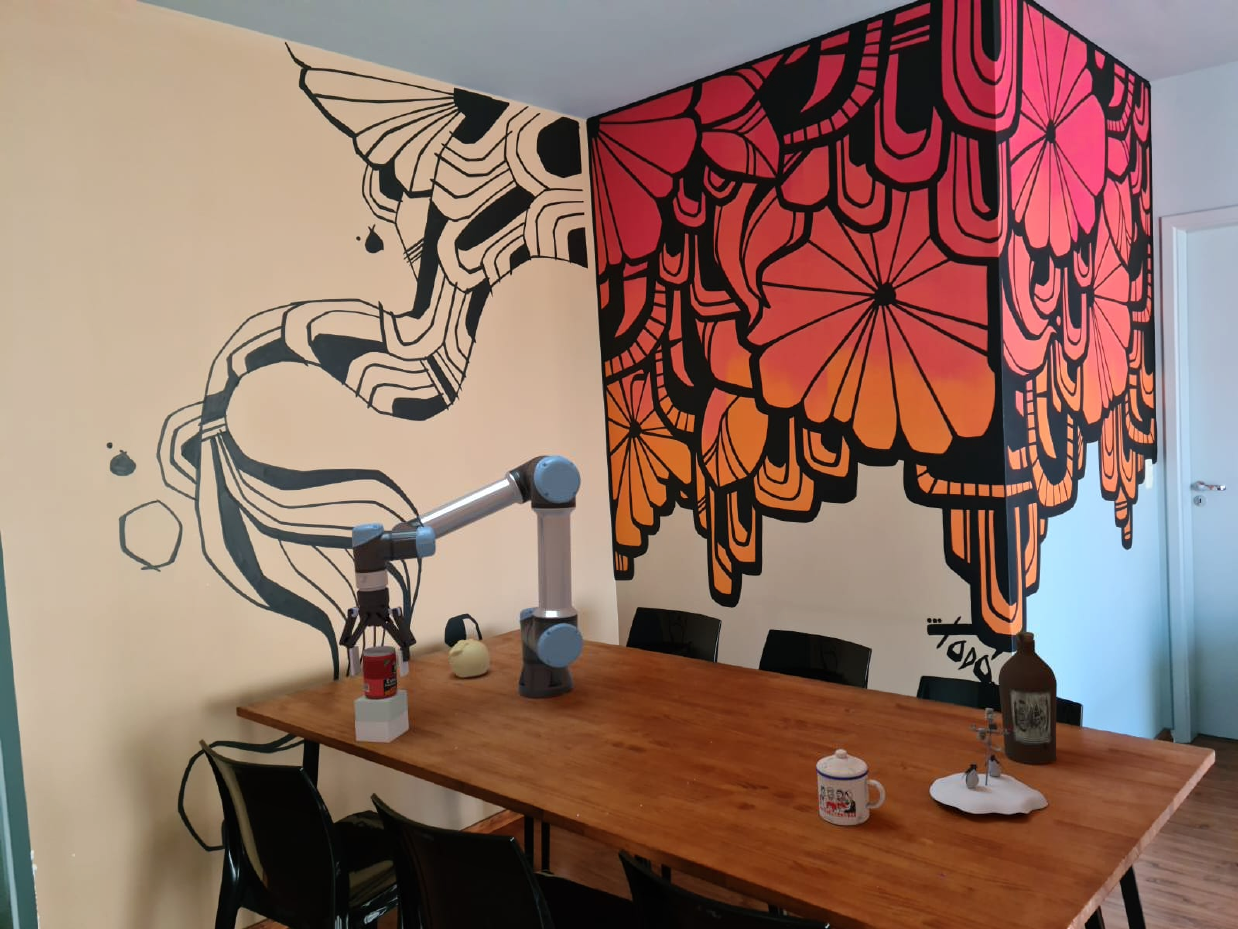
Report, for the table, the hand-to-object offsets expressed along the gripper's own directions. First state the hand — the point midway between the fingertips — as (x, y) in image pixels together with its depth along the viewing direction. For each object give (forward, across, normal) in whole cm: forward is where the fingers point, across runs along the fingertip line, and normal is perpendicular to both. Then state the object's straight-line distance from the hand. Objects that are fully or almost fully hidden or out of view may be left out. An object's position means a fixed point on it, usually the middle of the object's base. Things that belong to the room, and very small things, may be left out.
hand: (380, 674), depth 212 cm
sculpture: (+15, -2, +49) cm, 51 cm away
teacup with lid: (+16, +112, -25) cm, 116 cm away
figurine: (+16, +135, -14) cm, 136 cm away
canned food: (+5, 0, 0) cm, 5 cm away
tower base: (+15, 0, 0) cm, 15 cm away
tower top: (+10, 0, 0) cm, 10 cm away
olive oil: (+16, +145, +8) cm, 146 cm away
